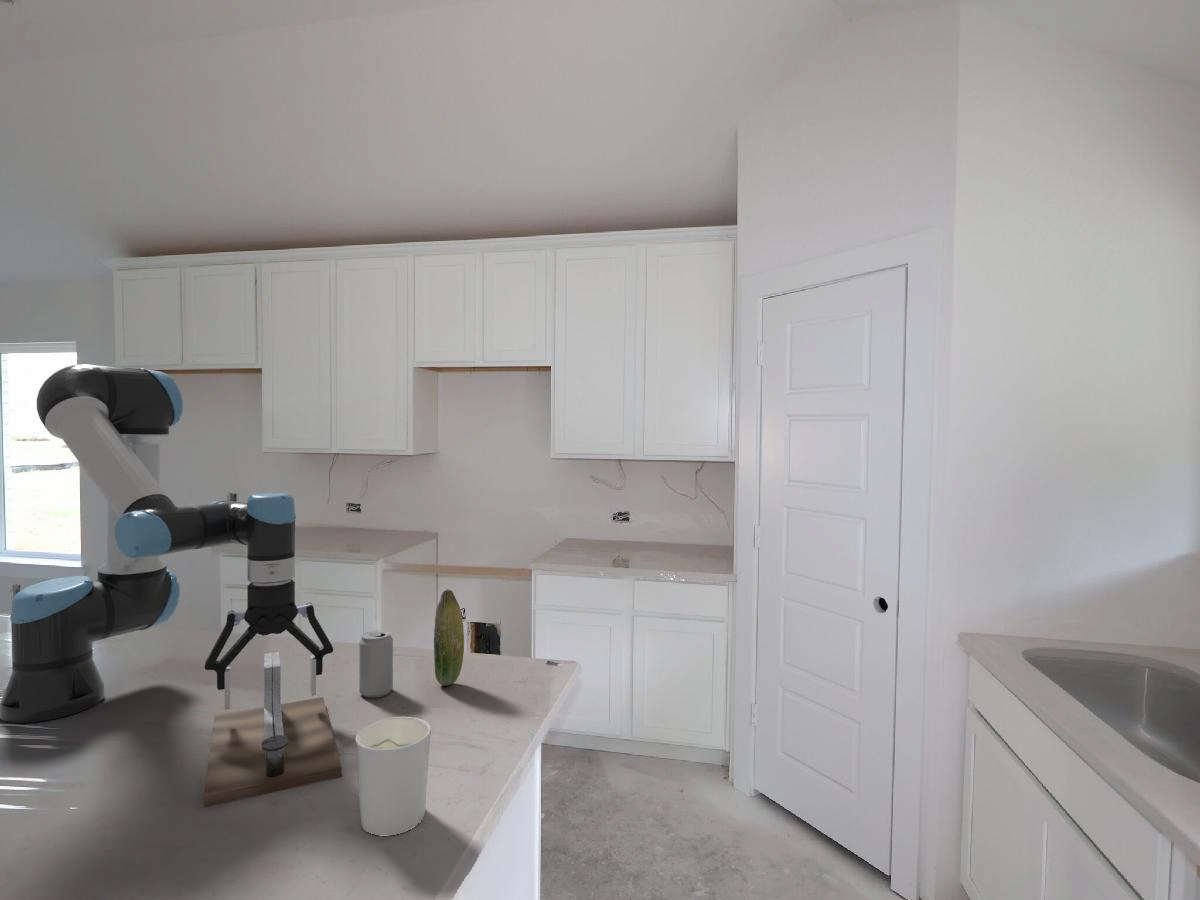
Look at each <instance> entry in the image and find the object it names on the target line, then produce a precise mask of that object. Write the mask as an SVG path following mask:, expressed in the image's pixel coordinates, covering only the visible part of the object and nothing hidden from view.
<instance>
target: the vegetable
mask: <svg viewBox="0 0 1200 900" xmlns="http://www.w3.org/2000/svg"><path fill="white" fill-rule="evenodd" d="M435 609H436V611H435V617H434V631H433V658H434V662H433V663H434V675H435V678H436V680H437V683H439V684H440V685H441V686H450V685H453V684H454V683H456V681H457V680H458V678H459V676H460V674H461V670H462V666H463V661H464V655H465V654H464V653H465V631H464V630H465V629H464V623H463V618H462V617H463V616H462V611H461V607H460V604H459V602H458V600H457V599H456V596H455V594H454V592H453V590H451V589H448V588H447V589H445V590H443V591H442V594H441V596H440V599H439V602H438V604H437V607H436V608H435Z"/></svg>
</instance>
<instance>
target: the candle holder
mask: <svg viewBox="0 0 1200 900" xmlns="http://www.w3.org/2000/svg"><path fill="white" fill-rule="evenodd" d="M431 733H432V728H431V726H430V723H428V722H427V721H426V720H424V719H421V718H418V717H412V716H394V717H388V718H383V719H379V720H378V719H377V720H376V721H373V722H371V723H368V724H367V725H365V726H363V727H362V728H361V729H359V731H358V732H357V733H356V735H355V745H356V761H357V762H356V763H357V780H358V795H359V796H358V797H359V799H358V800H359V813H360V823H361V827H362V828H363V830H364V832H366V833H367V832H369V833H371V834H370V835H372V834H375V835H395V836H397V835H396V834H399V833H402V832H405V831H407V830H409V829H411V828H413V827H414V826H416V825H417V824H418V823H419V824H421V822H422V821H423V819H424V816H425V811H426V801H427V790H428V789H427V786H428V773H429V772H428V771H429V757H430V756H429V755H430V743H431ZM421 820H422V821H421ZM419 824H418V825H419ZM418 825H417V826H418ZM417 826H416V827H417ZM413 829H414V828H413ZM411 830H412V829H411ZM369 833H368V834H369ZM405 833H406V832H405ZM375 835H374V836H375ZM399 835H400V834H399Z"/></svg>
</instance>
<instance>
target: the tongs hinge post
mask: <svg viewBox="0 0 1200 900" xmlns="http://www.w3.org/2000/svg"><path fill="white" fill-rule="evenodd" d="M288 743H289V738H288V737H287V736H284V735H277V736H272V737H269V738H267V739H265V740H263V741H262V749H263V750H266V776H267V777H277V776H280V775H282V774H283V773H284V747H285V746H287V745H288Z"/></svg>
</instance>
